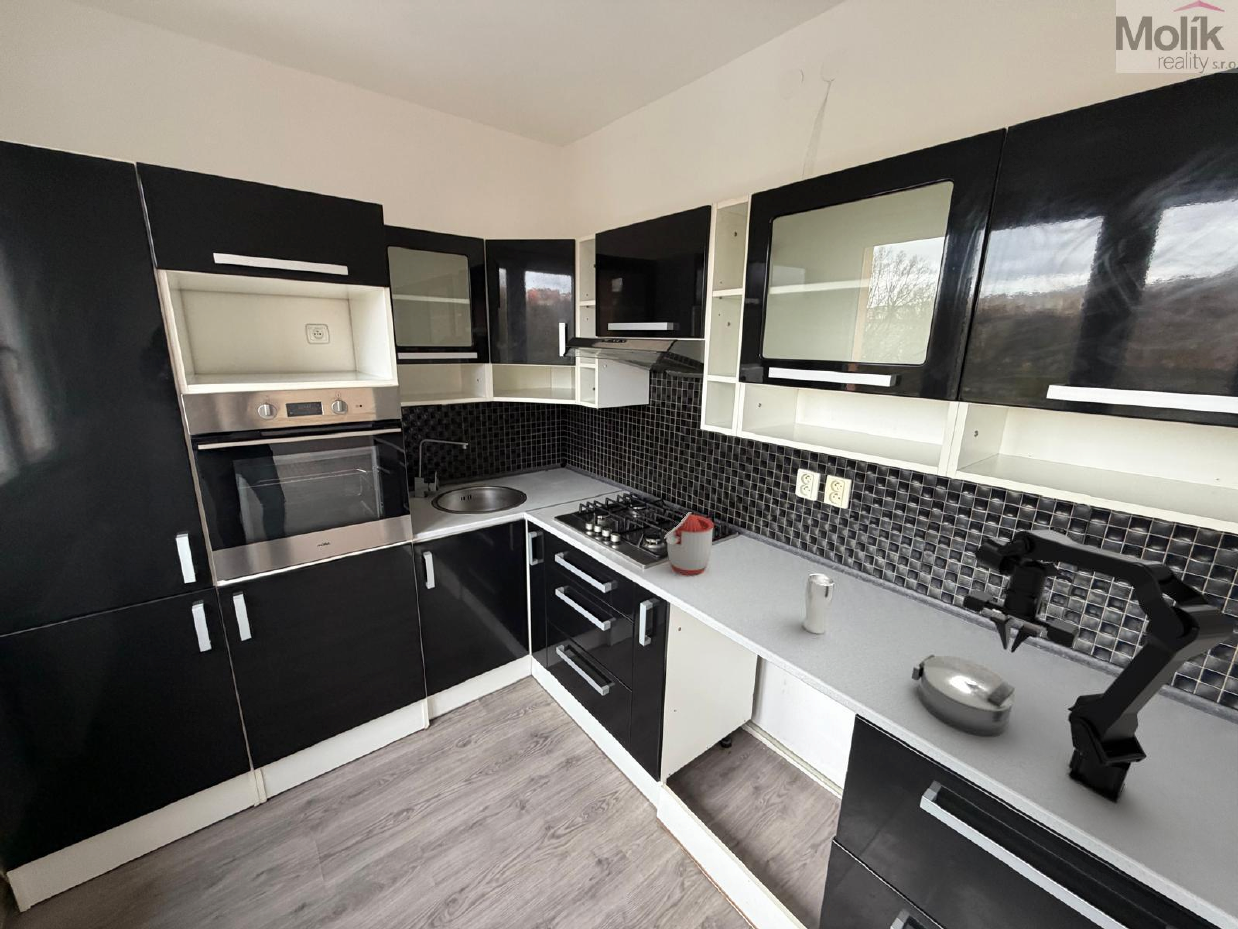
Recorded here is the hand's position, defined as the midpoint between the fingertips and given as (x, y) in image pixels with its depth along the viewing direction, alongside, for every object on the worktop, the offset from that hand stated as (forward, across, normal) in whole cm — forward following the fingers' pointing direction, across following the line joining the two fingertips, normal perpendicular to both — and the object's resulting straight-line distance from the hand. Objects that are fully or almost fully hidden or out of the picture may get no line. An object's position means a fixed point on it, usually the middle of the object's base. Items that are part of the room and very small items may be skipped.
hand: (1009, 650), depth 105 cm
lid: (+7, +4, +9) cm, 12 cm away
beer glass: (+13, +40, +8) cm, 43 cm away
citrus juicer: (+13, +86, +13) cm, 88 cm away
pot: (+13, +4, +9) cm, 16 cm away
